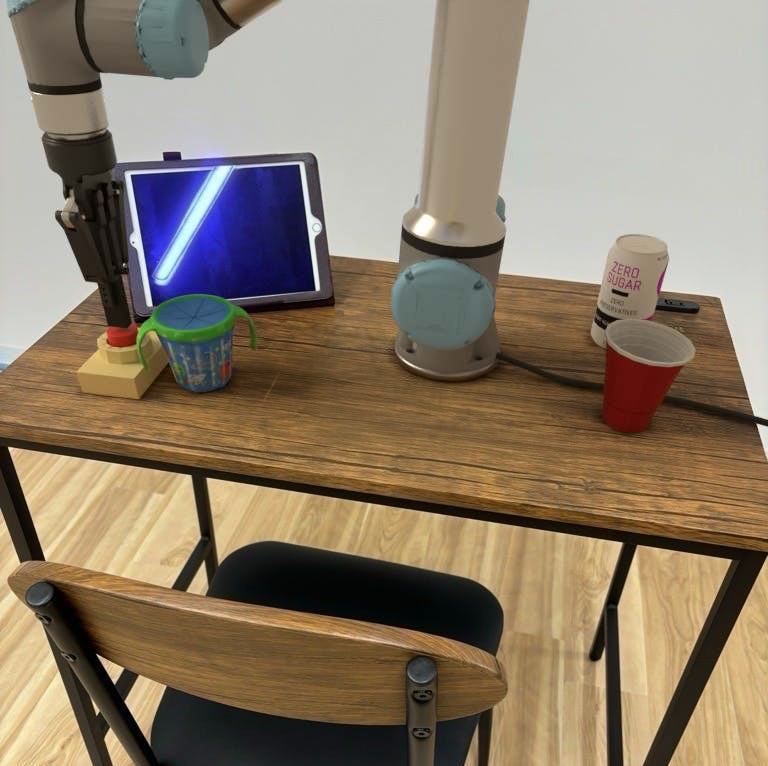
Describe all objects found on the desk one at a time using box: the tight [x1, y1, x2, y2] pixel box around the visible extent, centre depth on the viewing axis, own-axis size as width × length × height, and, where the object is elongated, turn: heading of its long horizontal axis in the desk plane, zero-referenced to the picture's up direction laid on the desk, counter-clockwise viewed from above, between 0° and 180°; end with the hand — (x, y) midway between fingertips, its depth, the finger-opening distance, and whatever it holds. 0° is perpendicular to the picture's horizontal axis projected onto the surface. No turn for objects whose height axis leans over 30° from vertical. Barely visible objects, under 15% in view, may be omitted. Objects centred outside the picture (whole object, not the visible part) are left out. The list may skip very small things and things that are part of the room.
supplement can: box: [590, 233, 670, 350], centre depth 107 cm, size 8×8×15 cm
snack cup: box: [137, 293, 259, 393], centre depth 98 cm, size 16×10×10 cm
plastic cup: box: [602, 319, 697, 434], centre depth 92 cm, size 11×11×12 cm
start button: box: [106, 323, 139, 348], centre depth 99 cm, size 4×4×2 cm
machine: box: [76, 327, 169, 400], centre depth 101 cm, size 13×8×5 cm, turn 170°
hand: (119, 324), depth 98 cm, fingers closed
